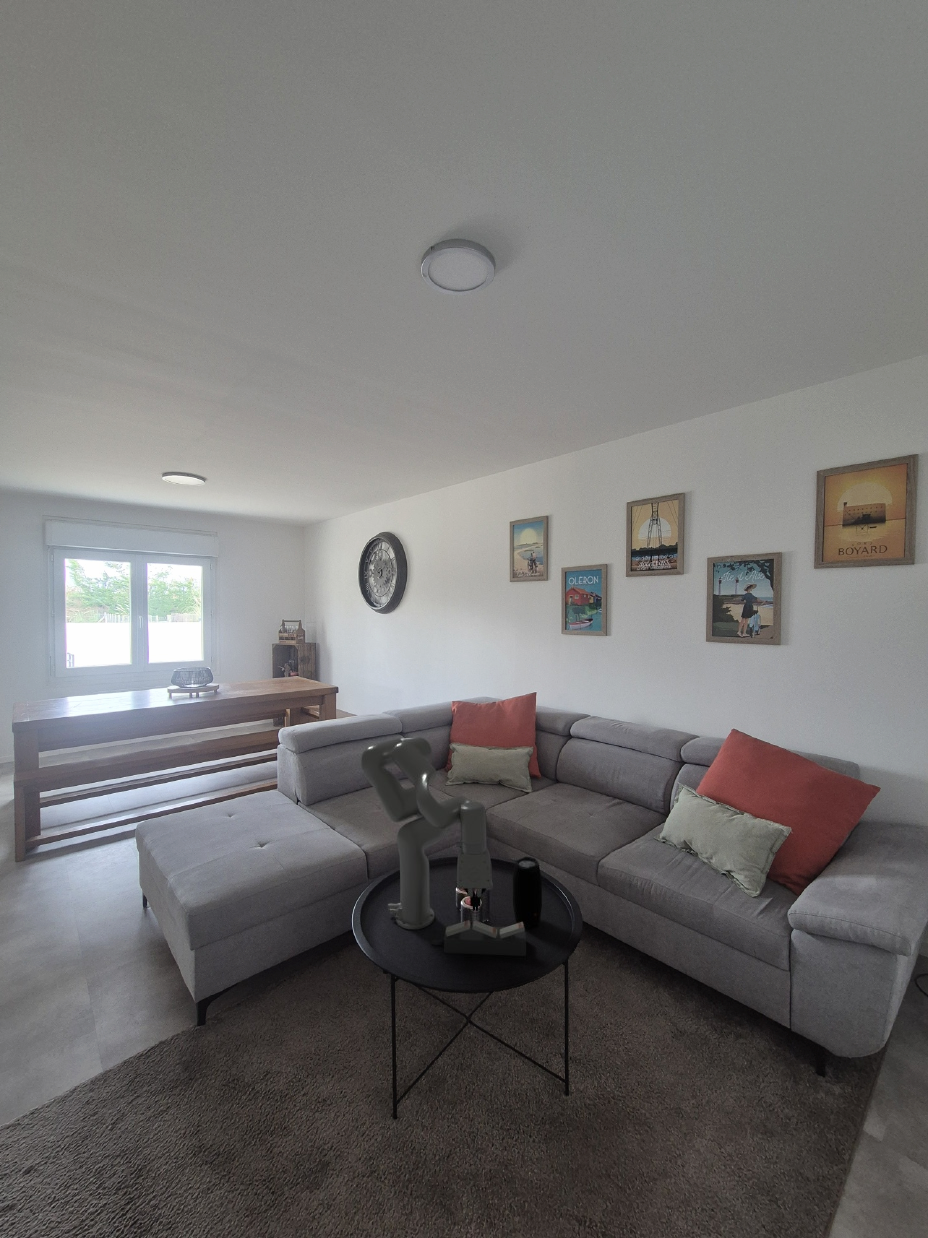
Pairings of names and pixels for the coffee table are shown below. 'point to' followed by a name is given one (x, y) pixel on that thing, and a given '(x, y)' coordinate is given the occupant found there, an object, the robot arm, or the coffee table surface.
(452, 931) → the rocker
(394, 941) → the coffee table surface
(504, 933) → the rocker
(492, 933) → the rocker
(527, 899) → the portable speaker
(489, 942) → the rocker switch box
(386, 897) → the coffee table surface
